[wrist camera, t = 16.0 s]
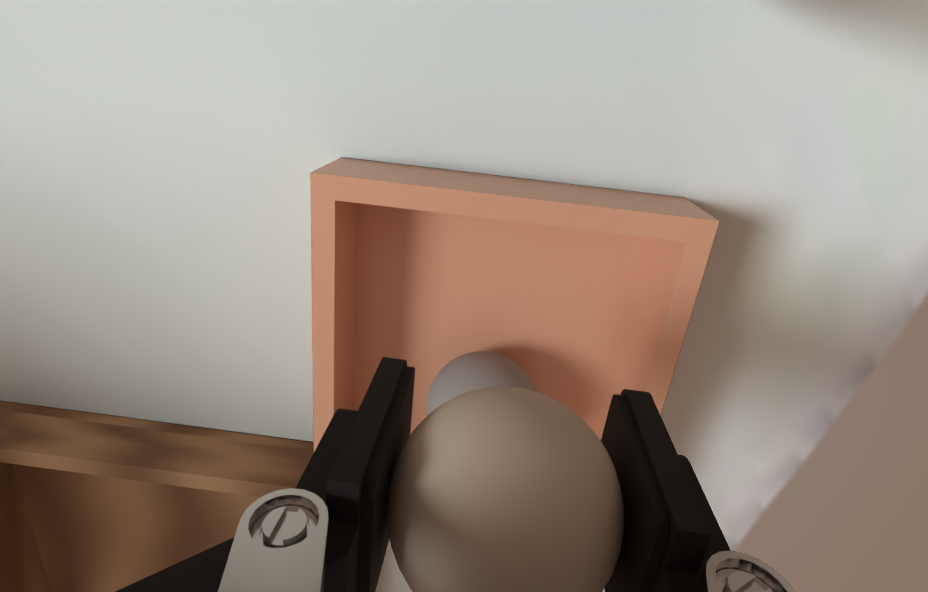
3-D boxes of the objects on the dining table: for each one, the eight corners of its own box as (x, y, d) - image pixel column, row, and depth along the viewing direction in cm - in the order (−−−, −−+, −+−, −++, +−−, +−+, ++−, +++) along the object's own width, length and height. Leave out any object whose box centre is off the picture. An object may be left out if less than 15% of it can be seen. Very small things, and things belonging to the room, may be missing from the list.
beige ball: (414, 334, 11) (363, 483, 7) (621, 359, 11) (688, 526, 7) (402, 491, 13) (357, 682, 9) (580, 514, 13) (616, 719, 9)
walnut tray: (56, 614, 32) (13, 665, 29) (-9, 400, 26) (-70, 439, 23) (341, 654, 31) (325, 710, 29) (344, 446, 25) (325, 492, 22)
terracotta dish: (338, 433, 25) (314, 487, 22) (341, 157, 20) (310, 172, 17) (610, 469, 25) (626, 528, 21) (684, 197, 20) (719, 221, 16)
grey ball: (436, 326, 22) (424, 383, 18) (542, 338, 22) (553, 398, 18) (428, 414, 23) (415, 485, 19) (526, 425, 23) (533, 498, 19)
